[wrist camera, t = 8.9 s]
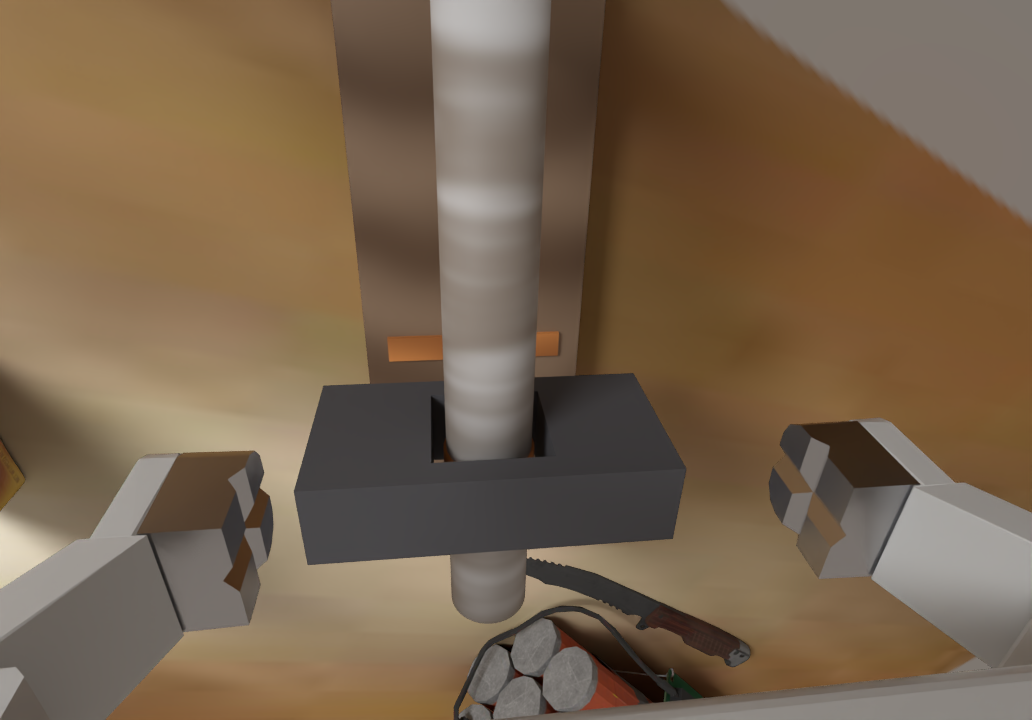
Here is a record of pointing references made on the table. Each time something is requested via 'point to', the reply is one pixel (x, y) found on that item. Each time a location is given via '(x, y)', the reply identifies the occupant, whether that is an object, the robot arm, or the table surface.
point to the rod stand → (472, 216)
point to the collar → (484, 474)
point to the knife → (643, 609)
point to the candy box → (8, 477)
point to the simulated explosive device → (553, 675)
